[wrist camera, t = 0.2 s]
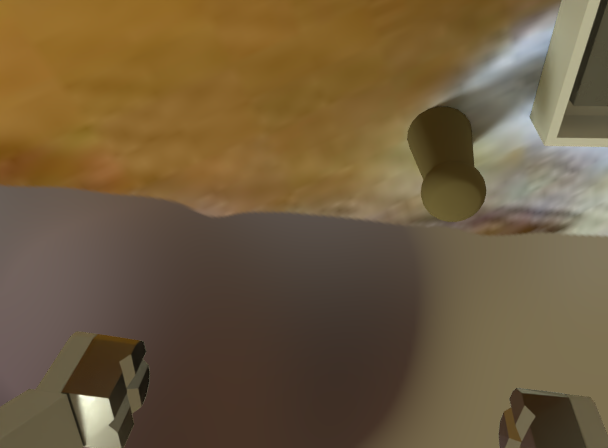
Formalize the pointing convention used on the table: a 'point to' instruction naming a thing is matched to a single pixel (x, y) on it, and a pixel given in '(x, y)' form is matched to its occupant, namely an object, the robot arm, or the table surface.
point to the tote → (568, 83)
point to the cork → (446, 164)
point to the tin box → (594, 64)
